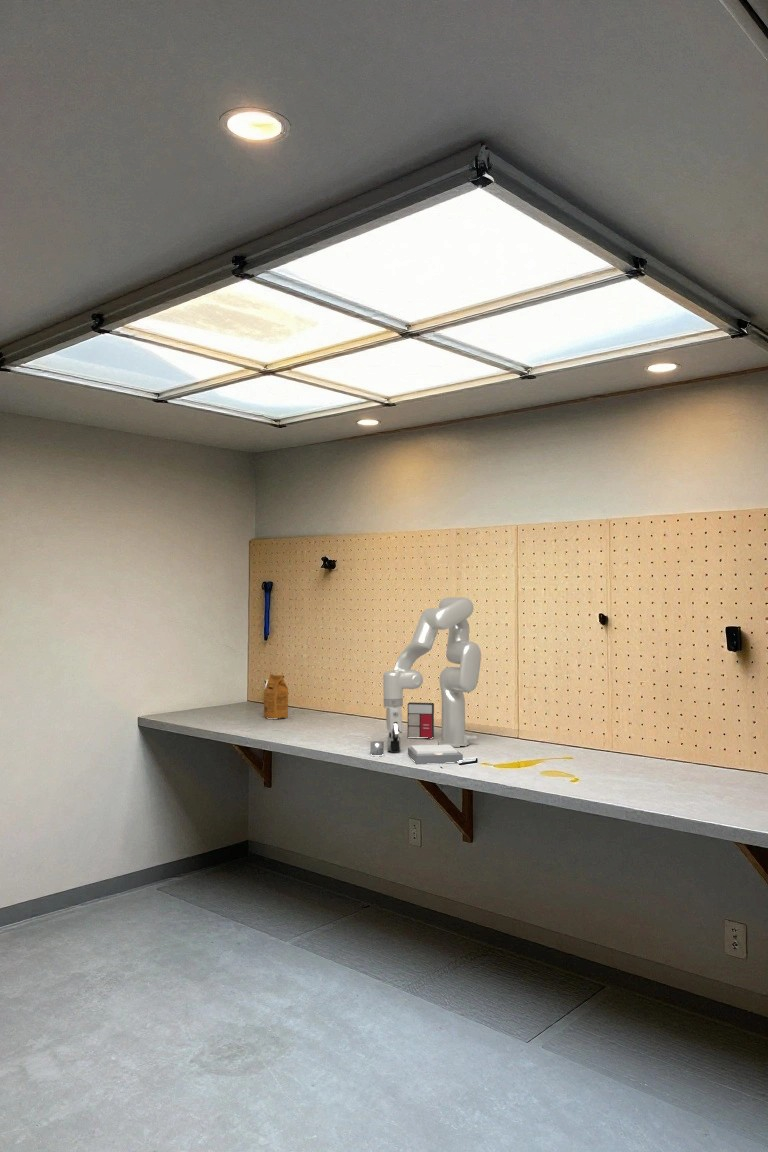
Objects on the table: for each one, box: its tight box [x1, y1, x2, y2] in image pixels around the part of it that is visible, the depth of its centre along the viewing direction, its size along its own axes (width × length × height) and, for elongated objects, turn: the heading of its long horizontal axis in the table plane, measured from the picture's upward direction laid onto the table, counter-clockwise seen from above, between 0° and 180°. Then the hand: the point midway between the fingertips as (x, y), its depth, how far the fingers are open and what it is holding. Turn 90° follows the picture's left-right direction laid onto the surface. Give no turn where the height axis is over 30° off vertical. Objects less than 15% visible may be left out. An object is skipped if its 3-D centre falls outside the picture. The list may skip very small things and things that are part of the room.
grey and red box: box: [407, 701, 435, 738], centre depth 352 cm, size 11×4×15 cm, turn 80°
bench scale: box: [407, 744, 464, 765], centre depth 305 cm, size 17×17×4 cm
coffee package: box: [263, 673, 289, 719], centre depth 413 cm, size 10×12×22 cm
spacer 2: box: [386, 736, 401, 752], centre depth 320 cm, size 5×5×5 cm
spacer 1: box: [369, 740, 385, 755], centre depth 312 cm, size 5×5×5 cm
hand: (393, 749), depth 320 cm, fingers closed on spacer 2, 5 cm apart
